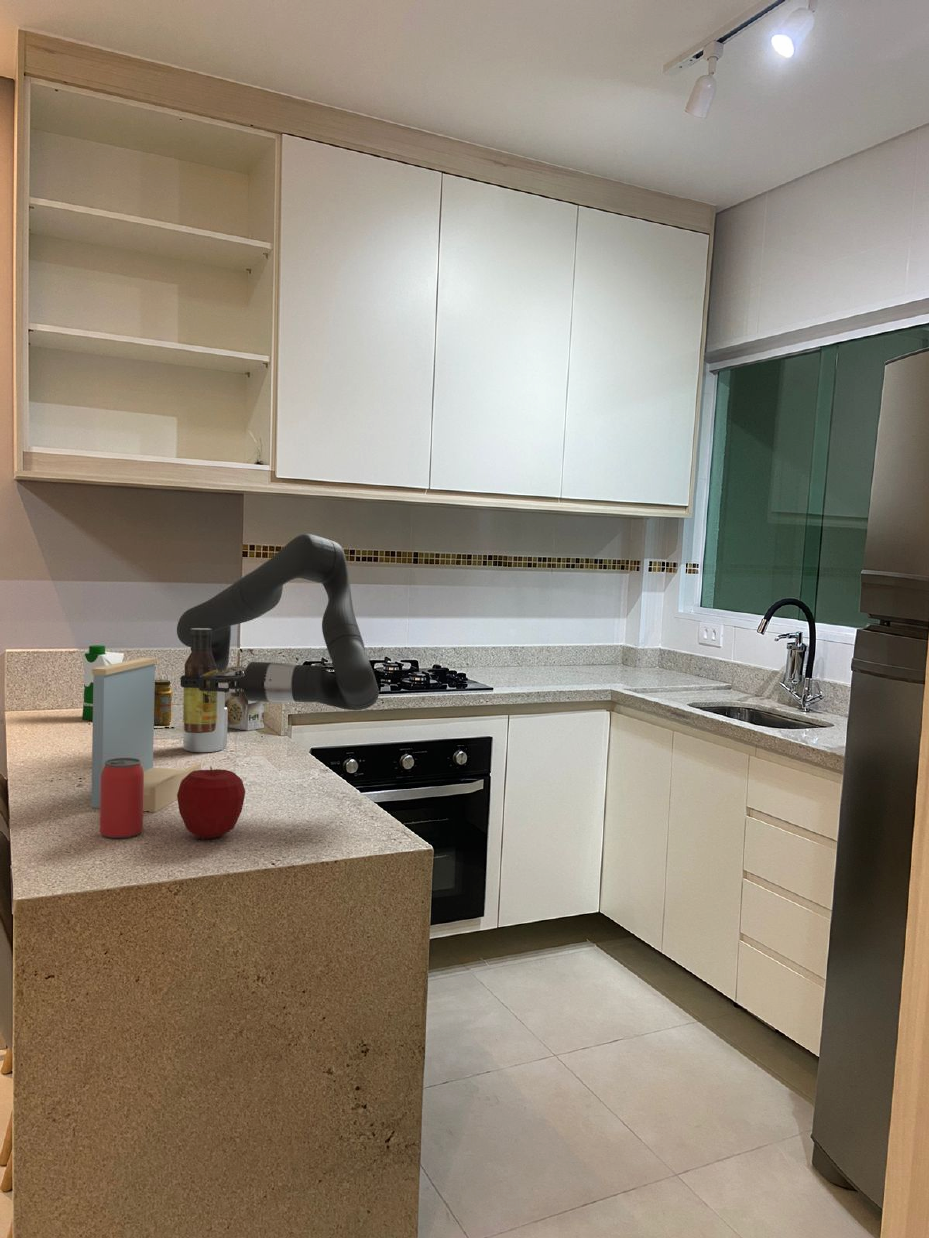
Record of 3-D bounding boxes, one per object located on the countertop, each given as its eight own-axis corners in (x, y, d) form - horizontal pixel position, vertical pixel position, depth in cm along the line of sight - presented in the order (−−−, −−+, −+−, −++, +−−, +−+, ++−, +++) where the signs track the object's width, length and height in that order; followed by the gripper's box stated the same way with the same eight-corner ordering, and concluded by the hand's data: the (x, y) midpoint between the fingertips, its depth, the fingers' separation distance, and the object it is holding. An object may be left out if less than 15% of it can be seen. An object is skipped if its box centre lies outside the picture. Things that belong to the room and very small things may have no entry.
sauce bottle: (207, 735, 174) (207, 630, 172) (177, 733, 175) (176, 629, 173) (223, 729, 180) (223, 627, 179) (193, 727, 181) (193, 626, 180)
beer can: (106, 827, 154) (108, 756, 153) (147, 828, 154) (148, 757, 153) (94, 839, 147) (95, 765, 146) (136, 840, 148) (138, 766, 147)
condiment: (170, 722, 249) (171, 678, 248) (175, 728, 241) (176, 683, 240) (142, 723, 246) (143, 679, 245) (146, 729, 238) (147, 683, 237)
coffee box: (265, 728, 247) (266, 668, 246) (247, 731, 241) (249, 670, 240) (240, 723, 251) (242, 665, 250) (222, 726, 246) (224, 666, 245)
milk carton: (76, 719, 247) (78, 645, 246) (102, 715, 255) (104, 643, 254) (101, 723, 243) (102, 648, 242) (126, 718, 252) (128, 645, 250)
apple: (207, 851, 144) (209, 777, 143) (161, 837, 149) (162, 766, 149) (258, 835, 153) (260, 765, 152) (212, 823, 159) (214, 756, 158)
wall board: (141, 781, 185) (144, 657, 183) (200, 785, 183) (203, 660, 182) (89, 807, 165) (92, 668, 163) (155, 812, 164) (158, 672, 162)
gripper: (284, 659, 182) (202, 656, 184) (261, 666, 168) (172, 663, 170) (284, 696, 183) (202, 693, 184) (260, 707, 168) (172, 703, 170)
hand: (188, 679), depth 177 cm, fingers closed on sauce bottle, 6 cm apart
